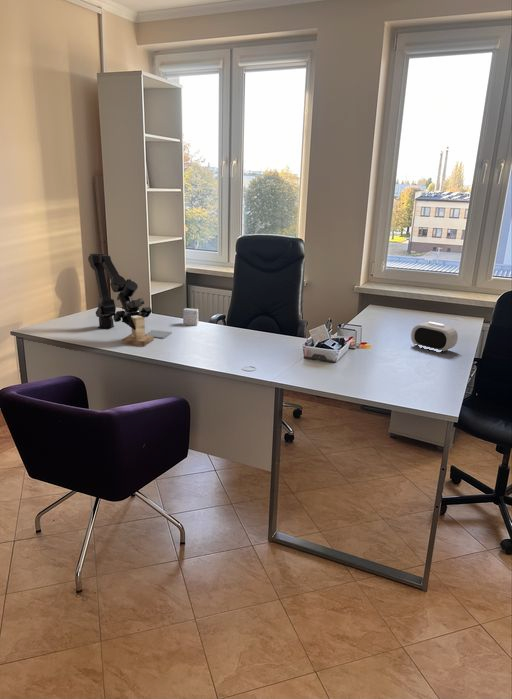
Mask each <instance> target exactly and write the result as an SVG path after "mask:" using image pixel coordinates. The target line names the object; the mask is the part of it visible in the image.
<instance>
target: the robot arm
mask: <svg viewBox="0 0 512 699" xmlns="http://www.w3.org/2000/svg"><path fill="white" fill-rule="evenodd" d="M87 260H88V263H89V266H90V268H91V269H92V270H93V271H94V275H95V279H96V284H97V289H98V294H99V300H98V302H97V309H96V311H95V316H96V317H98V327H97V329H103V330H104V329H106V330H110V329H112V328H113V327H115V325H114V323H117V322H118V323H119V322H121V323H124V324H126V325H127V326H129V327H130V328H131V330H132V329H134V330H135V329H136V328H135V325H134V323H133V321H132V319H131V317H134V316H142V317H144V319H145V318H148V317H149V316H150V315H151V313H152V311H153V310H152V308H151V307H150V306H144V307H142V306H143V305H145V300H144V298H143V297H139V298H138V299H133V298H132V297H133V296H134V295H135V293H136V292H137V289H138V288H139V287H138V283H136V282H135V281H133V280H132V278H129V279H125V277H123V276H121V275H120V274H119V271H118V270H117V269H116V267H115V265H114V263H113V261H112V258H111V255H109V254H104V253H103V252H101V253H100V252H98V253H90V254H89V255H88V257H87ZM106 274H107V276H108V278H109V280H110V287H111V290H112V291H113V292H114V293H118V294H117V296H116V301H119V302H120V304H121V309H122V310H117V307H116V304H115V300H114V299H113V298H112V297H111V296H110V292H109V286H108V282H107V278H106ZM140 307H142V308H141V310H140ZM116 310H117V311H116Z"/></svg>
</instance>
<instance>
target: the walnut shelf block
mask: <svg viewBox="0 0 512 699" xmlns="http://www.w3.org/2000/svg"><path fill="white" fill-rule="evenodd" d="M146 334H147V333H145V338H139V339H136V338H133V337H132V333H131V334H129V335H127V336H125V337H124V338H123V339H122V344H123V345H127V346H128V345H130V346H136V347H137V346H140V347H145V346H146V347H147V345H149V344H150V343H152V342H153V341H154V338H153V335H146Z"/></svg>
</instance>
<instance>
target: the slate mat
mask: <svg viewBox="0 0 512 699" xmlns="http://www.w3.org/2000/svg"><path fill="white" fill-rule="evenodd" d="M145 334H146V335H153V339H154V338H155V339H162V338H163V340H164V339H166V338H167V337H169V336H170V335H171V334H173V332H172V331H166V330H165V331H164V330H156V329H155V330H154V329H151V330H150V331H148V332H147V333H145ZM168 335H169V336H168Z"/></svg>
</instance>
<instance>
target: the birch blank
mask: <svg viewBox="0 0 512 699" xmlns="http://www.w3.org/2000/svg"><path fill="white" fill-rule="evenodd" d="M131 319H132V321H133V323H134V325H135V328H136V329H135V330H134V329H132V328H131V334H132V337H133V338H136V339H139V338H145V334H146V333H145V332H146V331H145V329H146V327H145V318H144V317H142V316H137V315H136V316H131Z"/></svg>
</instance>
